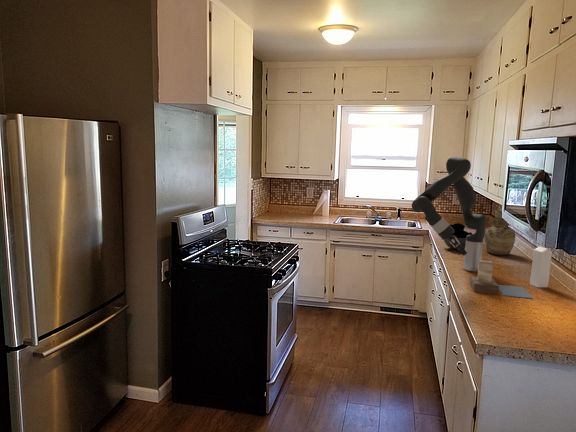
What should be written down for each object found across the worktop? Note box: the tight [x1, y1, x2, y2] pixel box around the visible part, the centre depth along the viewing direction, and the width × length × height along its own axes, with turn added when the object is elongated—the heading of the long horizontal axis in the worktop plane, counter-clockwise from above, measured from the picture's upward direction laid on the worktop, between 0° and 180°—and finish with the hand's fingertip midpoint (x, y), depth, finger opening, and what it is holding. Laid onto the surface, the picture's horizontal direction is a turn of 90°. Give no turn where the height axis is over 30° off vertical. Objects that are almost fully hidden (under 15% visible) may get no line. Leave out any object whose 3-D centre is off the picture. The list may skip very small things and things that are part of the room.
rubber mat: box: [498, 284, 534, 300], centre depth 219 cm, size 18×13×1 cm
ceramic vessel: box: [483, 210, 516, 257], centre depth 305 cm, size 19×21×30 cm
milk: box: [529, 245, 553, 288], centre depth 230 cm, size 6×6×22 cm
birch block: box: [476, 259, 494, 283], centre depth 221 cm, size 4×6×10 cm, turn 76°
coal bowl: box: [443, 222, 473, 251], centre depth 314 cm, size 20×20×19 cm
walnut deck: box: [469, 275, 500, 295], centre depth 222 cm, size 15×11×4 cm
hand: (464, 252), depth 223 cm, fingers open, 8 cm apart
